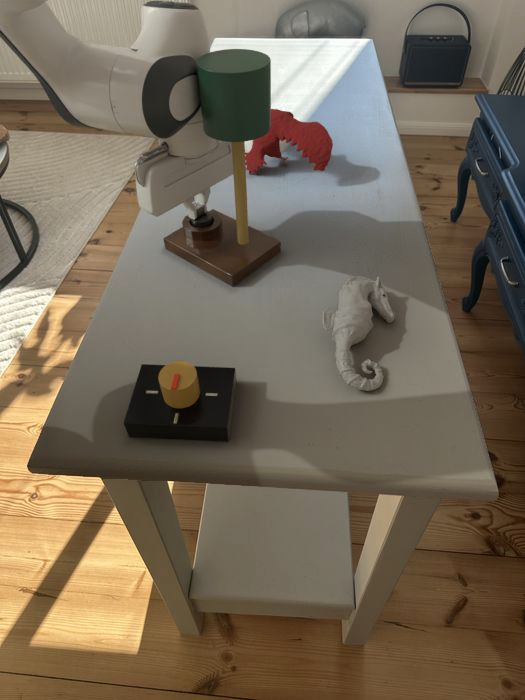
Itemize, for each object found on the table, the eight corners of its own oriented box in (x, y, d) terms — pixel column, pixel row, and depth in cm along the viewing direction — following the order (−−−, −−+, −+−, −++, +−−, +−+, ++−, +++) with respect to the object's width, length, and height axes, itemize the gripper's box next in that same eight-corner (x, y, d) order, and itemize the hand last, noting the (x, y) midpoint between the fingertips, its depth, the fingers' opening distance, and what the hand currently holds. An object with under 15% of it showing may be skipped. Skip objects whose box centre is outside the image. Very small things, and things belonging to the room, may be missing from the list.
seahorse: (421, 388, 60) (395, 271, 71) (338, 373, 57) (324, 253, 68) (398, 406, 64) (377, 293, 75) (319, 393, 61) (310, 276, 72)
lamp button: (187, 226, 82) (186, 217, 81) (202, 217, 84) (201, 208, 83) (202, 234, 81) (201, 225, 79) (217, 224, 82) (216, 215, 81)
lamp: (203, 243, 77) (180, 62, 58) (241, 219, 82) (231, 44, 63) (245, 265, 73) (235, 78, 54) (282, 239, 78) (285, 58, 58)
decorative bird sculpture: (312, 210, 99) (351, 142, 95) (289, 194, 91) (331, 119, 87) (226, 163, 113) (257, 102, 110) (199, 146, 105) (232, 80, 102)
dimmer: (128, 437, 57) (122, 422, 55) (146, 378, 63) (141, 363, 61) (228, 442, 57) (227, 427, 54) (236, 382, 63) (235, 366, 60)
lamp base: (165, 248, 83) (161, 228, 80) (214, 219, 89) (212, 199, 86) (232, 287, 76) (231, 266, 73) (281, 252, 82) (281, 231, 79)
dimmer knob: (167, 378, 59) (162, 358, 57) (202, 380, 59) (199, 359, 56) (159, 407, 56) (153, 387, 54) (196, 409, 56) (192, 389, 53)
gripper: (147, 164, 64) (164, 250, 75) (248, 116, 75) (250, 197, 85) (117, 151, 67) (137, 235, 77) (218, 106, 78) (224, 185, 88)
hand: (197, 215), depth 81 cm, fingers closed, pressing on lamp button
